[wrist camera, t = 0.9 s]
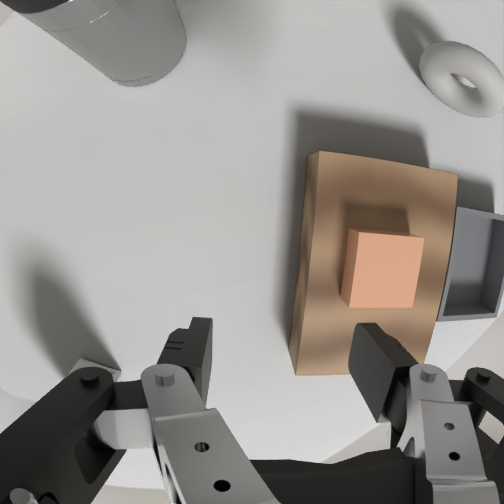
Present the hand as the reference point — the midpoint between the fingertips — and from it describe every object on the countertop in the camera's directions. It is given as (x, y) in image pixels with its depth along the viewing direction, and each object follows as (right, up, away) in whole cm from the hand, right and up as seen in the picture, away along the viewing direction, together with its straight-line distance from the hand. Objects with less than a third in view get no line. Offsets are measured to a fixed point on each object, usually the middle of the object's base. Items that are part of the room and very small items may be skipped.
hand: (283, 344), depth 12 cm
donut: (+20, +21, +16) cm, 33 cm away
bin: (+23, +3, +20) cm, 31 cm away
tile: (+10, +2, +15) cm, 18 cm away
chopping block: (+10, +2, +20) cm, 22 cm away
